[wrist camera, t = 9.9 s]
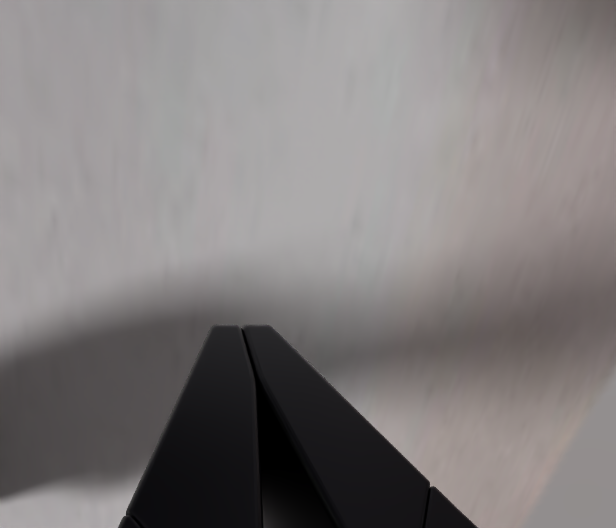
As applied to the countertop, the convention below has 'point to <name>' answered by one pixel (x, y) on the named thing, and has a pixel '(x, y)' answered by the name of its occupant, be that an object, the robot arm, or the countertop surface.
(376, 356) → the countertop surface
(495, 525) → the countertop surface
